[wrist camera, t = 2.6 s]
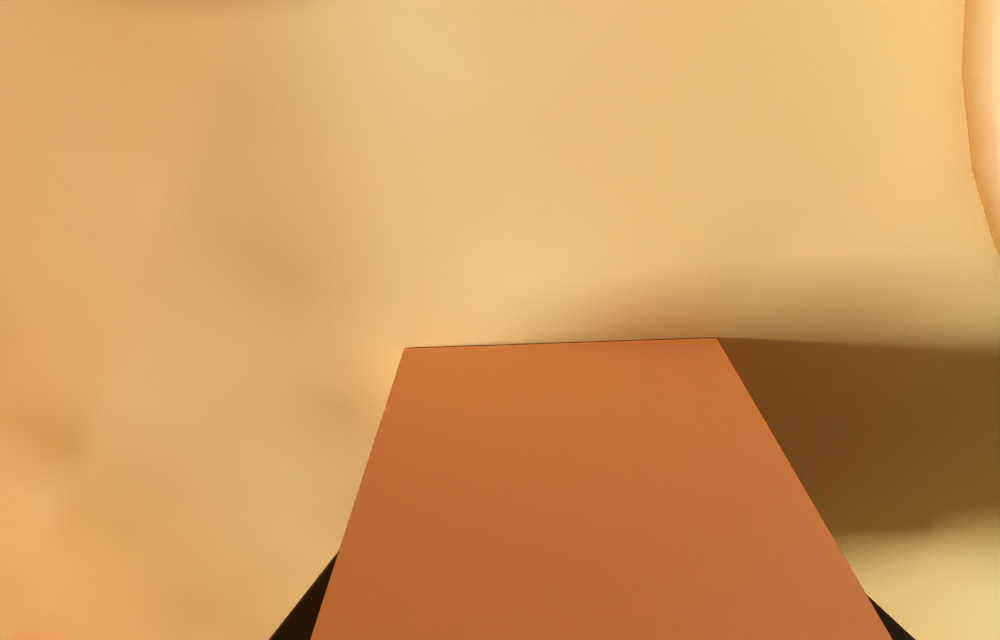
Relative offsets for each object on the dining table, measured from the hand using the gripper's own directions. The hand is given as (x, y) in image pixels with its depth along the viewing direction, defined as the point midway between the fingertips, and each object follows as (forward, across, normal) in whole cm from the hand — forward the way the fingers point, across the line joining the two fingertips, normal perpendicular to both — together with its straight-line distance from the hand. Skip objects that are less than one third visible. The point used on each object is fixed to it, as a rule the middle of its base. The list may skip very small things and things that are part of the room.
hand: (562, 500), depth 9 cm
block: (+1, 0, 0) cm, 1 cm away
